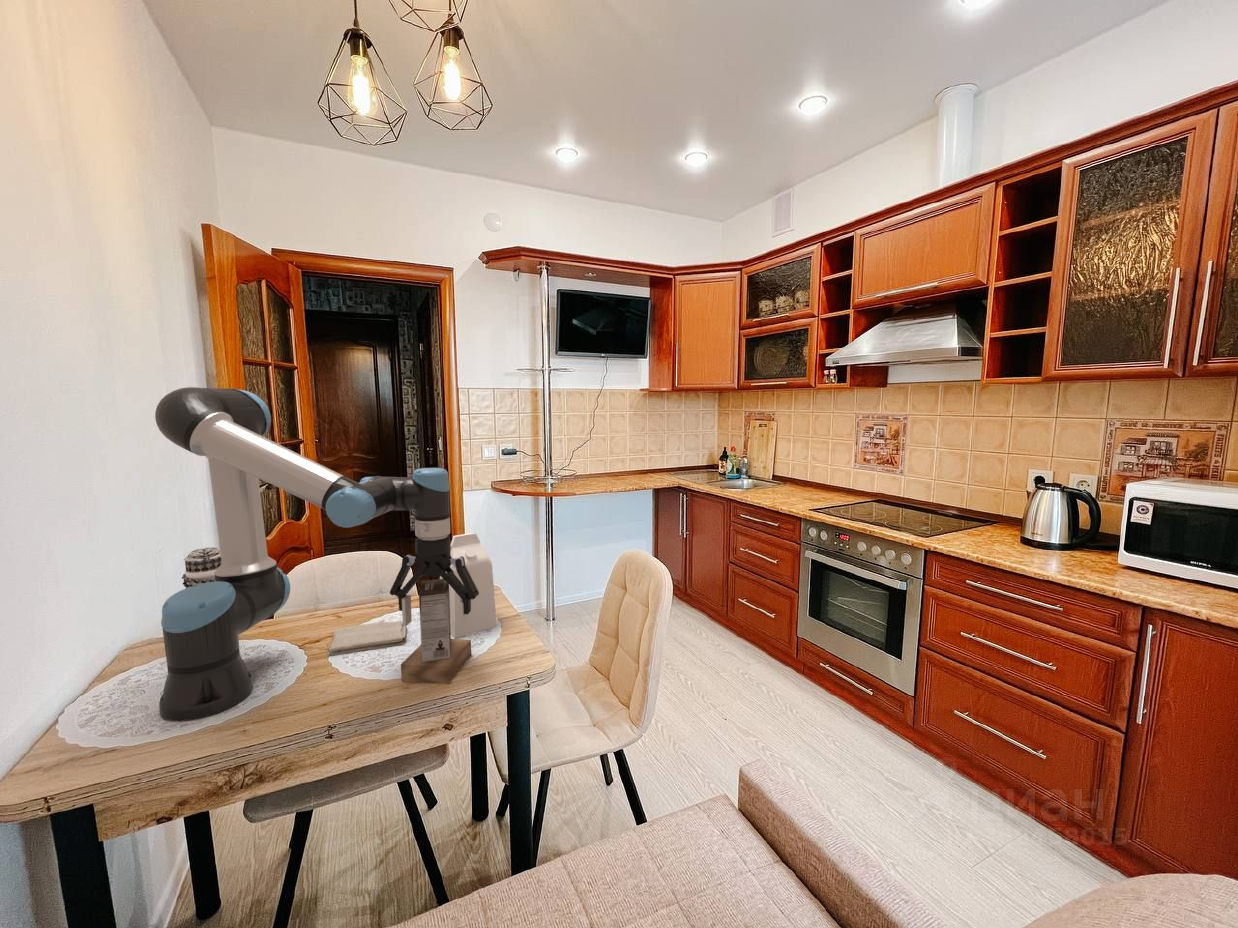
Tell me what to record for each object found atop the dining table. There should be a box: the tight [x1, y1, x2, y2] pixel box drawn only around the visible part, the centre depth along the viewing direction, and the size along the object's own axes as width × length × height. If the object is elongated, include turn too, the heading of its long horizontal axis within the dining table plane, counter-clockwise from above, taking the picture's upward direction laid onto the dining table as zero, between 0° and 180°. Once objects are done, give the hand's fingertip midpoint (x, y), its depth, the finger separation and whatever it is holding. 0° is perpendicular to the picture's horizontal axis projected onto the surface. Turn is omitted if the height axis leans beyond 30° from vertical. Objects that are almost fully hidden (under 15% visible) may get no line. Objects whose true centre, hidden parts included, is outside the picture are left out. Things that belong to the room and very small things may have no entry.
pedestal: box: [400, 638, 472, 685], centre depth 119 cm, size 11×13×4 cm
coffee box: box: [418, 578, 452, 662], centre depth 118 cm, size 9×6×16 cm
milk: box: [439, 532, 498, 639], centre depth 141 cm, size 12×12×26 cm
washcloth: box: [328, 620, 407, 657], centre depth 133 cm, size 12×18×3 cm, turn 112°
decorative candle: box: [181, 547, 222, 589], centre depth 128 cm, size 9×9×25 cm
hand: (435, 625), depth 118 cm, fingers open, 13 cm apart
